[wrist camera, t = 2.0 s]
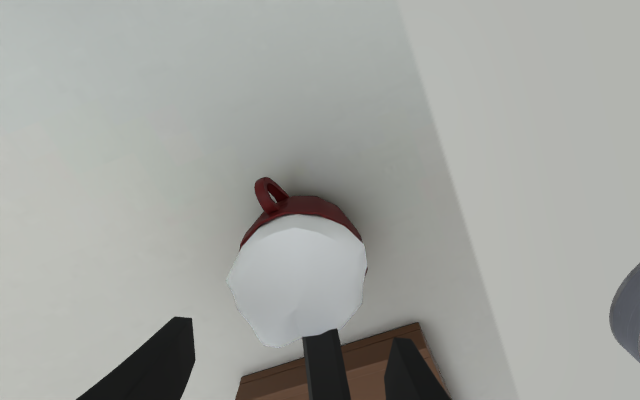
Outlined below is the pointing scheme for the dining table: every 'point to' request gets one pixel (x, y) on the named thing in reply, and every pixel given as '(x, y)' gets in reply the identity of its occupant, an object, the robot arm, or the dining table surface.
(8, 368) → the dining table surface
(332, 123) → the dining table surface
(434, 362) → the tray
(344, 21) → the dining table surface
